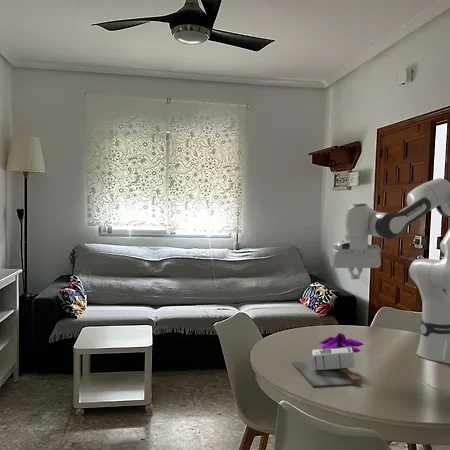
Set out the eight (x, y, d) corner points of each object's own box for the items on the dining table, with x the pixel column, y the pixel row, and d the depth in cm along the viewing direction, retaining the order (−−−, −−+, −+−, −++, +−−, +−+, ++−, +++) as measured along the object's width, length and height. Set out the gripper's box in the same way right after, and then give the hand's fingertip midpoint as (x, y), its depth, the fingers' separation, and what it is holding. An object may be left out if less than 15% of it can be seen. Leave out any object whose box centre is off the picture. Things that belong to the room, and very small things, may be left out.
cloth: (362, 342, 203) (363, 328, 203) (366, 355, 185) (367, 340, 185) (312, 338, 208) (312, 324, 207) (311, 350, 190) (311, 336, 189)
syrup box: (353, 352, 161) (312, 354, 163) (355, 368, 161) (313, 370, 164) (351, 346, 167) (311, 349, 169) (353, 362, 167) (313, 364, 169)
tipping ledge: (333, 362, 175) (333, 357, 174) (359, 384, 153) (360, 378, 153) (292, 363, 172) (292, 358, 172) (313, 387, 150) (313, 381, 150)
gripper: (376, 243, 185) (375, 277, 186) (329, 243, 182) (328, 277, 182) (384, 245, 179) (383, 280, 180) (335, 245, 175) (334, 280, 176)
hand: (355, 279), depth 181 cm, fingers closed
